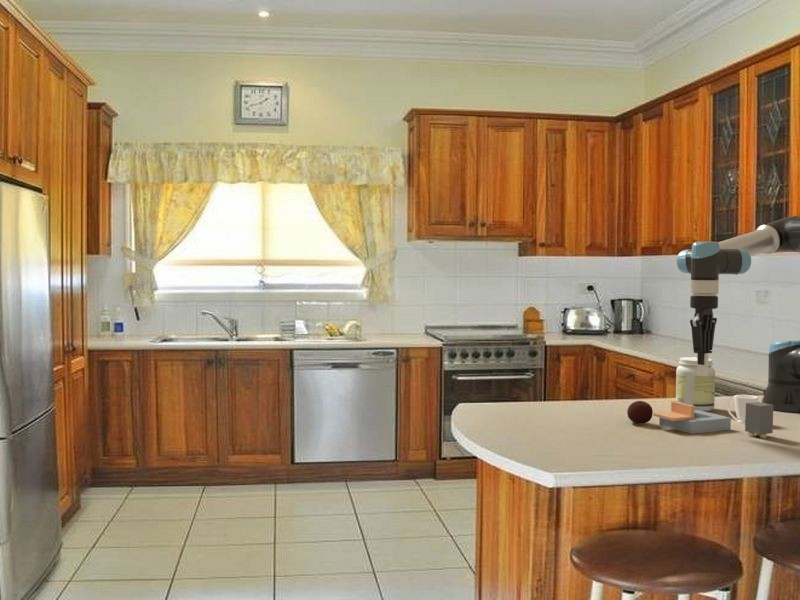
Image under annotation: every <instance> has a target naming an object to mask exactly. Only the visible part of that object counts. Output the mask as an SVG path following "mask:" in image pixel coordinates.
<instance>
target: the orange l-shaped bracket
mask: <svg viewBox="0 0 800 600" xmlns="http://www.w3.org/2000/svg"><path fill="white" fill-rule="evenodd" d="M694 408H695V406H693V405H688V404H684V403H680V402H676V400H671V405H670V411H662V412H653V414H652V417H653V416H654V417H655V418H659V419H660V418H664V419H667V420H671V421H678V420H688V419H694Z"/></svg>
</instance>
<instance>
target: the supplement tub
mask: <svg viewBox="0 0 800 600" xmlns="http://www.w3.org/2000/svg"><path fill="white" fill-rule="evenodd" d="M678 364H679V365H678V366H677V368H676V371H675V373H676V374H675V375H676V376H675V379H676V380H675V402H680V403H684V404H688V405H693V406H695V408H694V410H700V411H704V412H711V411H713V410H714V409H715V398H716V397H715V396H716V395H715V391H716V388H715V387H716V370H715V369H714V367H712V366H713V359H711V358H708V376H699V375H697V356H696V357H694V356H691V357H690V356H689V357H687V356H686V357H680V358H679V361H678Z"/></svg>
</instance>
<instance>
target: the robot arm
mask: <svg viewBox="0 0 800 600" xmlns="http://www.w3.org/2000/svg"><path fill="white" fill-rule="evenodd" d="M781 252H782V253H783V252H785V253H786V252H788V253H789V252H790V253H791V252H792V253H793V252H794V253H795V252H796V253H800V215H793V216H792V215H791V216H789V217H783V218H781V219H778V220H774V221H772V222H768V223H766V224H762V225H760V226H758V227H757V228H756V229H755V230H753V231H751V232H748V233H743V234H741V235H738V236H735V237H731V238H729V239H727V238H726V239H725V240H722V241H695V242H693V244H692V245H691V248H689V249H683V250H681V251H680V252H679V253H678V255H677V257H676V266H677V268H678V270H679V271H680V272H682V273H684V274H690V283H689V286H690V294H692V295H691V296H690V297H689V298H690V300H689V304H690V305H689V306H690V307H689V308H691V309H695V310H694V315H693V316H694V318H693V319H690V320H689V323H690V327H691V328H690V329H691V337H692V338H691V339H692V349H693V353H694V354H696V355H697V356H696V357H697V375H699V376H708V359H709V356H710V355H709V354H713V347H714V346H713V345H714V337H715V330H716V325H717V320H718V318H717V317H714V312H713V310H717V309H718V308H719V297H718V294H719V287H720V285H719V280H720V279H719V276H720V275H736V276H737V275H739V274H740V275H742V274H743V275H744V274H745V273H746V272H748V271H749V270H750V268H751V265H752V258H751V257H754V256H757V255H760V254H766V255H767V254H768V255H769V254H773V253H781ZM768 349H769V350H768V353H767V354H768V371H767V372H768V381H767V386H766V389H765V392H764V394H763V397H762V400H761V403H766V404H771V405H773V411H778V412H786V413H787V412H788V413H800V339H799V340H780V341H779V340H778V341H777V340H776V341H773V342H771V343H770V345H769V348H768Z"/></svg>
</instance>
